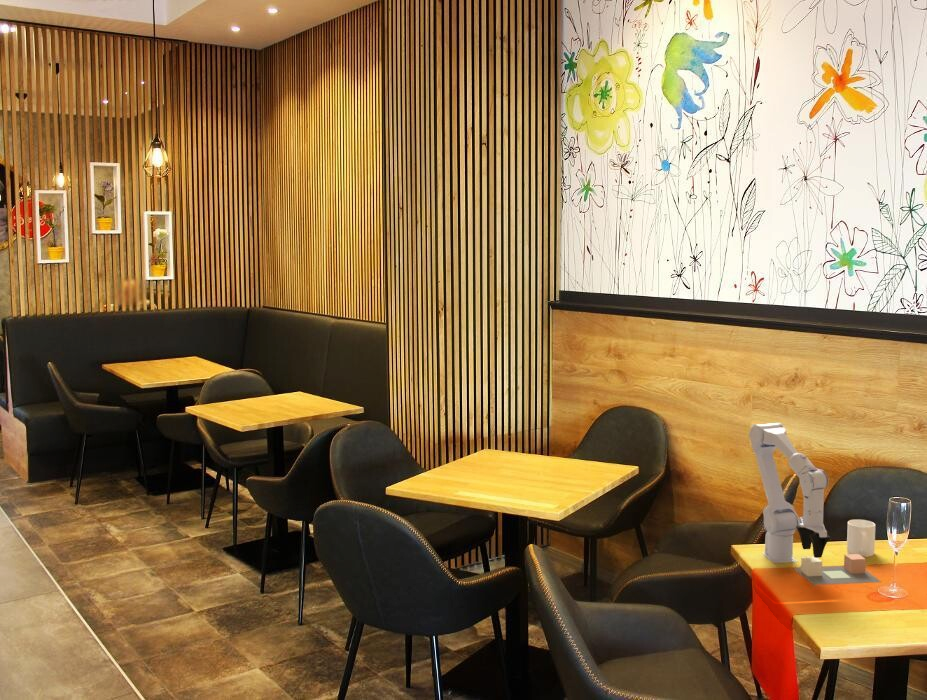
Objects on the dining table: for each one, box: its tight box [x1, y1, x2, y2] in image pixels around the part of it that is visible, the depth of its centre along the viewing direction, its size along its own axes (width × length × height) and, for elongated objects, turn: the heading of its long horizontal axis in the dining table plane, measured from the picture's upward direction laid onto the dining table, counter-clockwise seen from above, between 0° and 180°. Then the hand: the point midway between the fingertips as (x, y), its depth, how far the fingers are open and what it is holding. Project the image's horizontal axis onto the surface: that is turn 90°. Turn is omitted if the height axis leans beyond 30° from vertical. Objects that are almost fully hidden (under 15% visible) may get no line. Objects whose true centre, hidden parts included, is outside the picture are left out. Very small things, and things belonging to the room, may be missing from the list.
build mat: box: [792, 565, 882, 586], centre depth 283 cm, size 14×21×1 cm, turn 95°
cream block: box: [800, 556, 823, 576], centre depth 284 cm, size 4×4×4 cm
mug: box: [846, 519, 876, 558], centre depth 300 cm, size 12×8×10 cm
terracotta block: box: [843, 553, 867, 574], centre depth 286 cm, size 4×4×4 cm
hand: (812, 553), depth 284 cm, fingers open, 7 cm apart
